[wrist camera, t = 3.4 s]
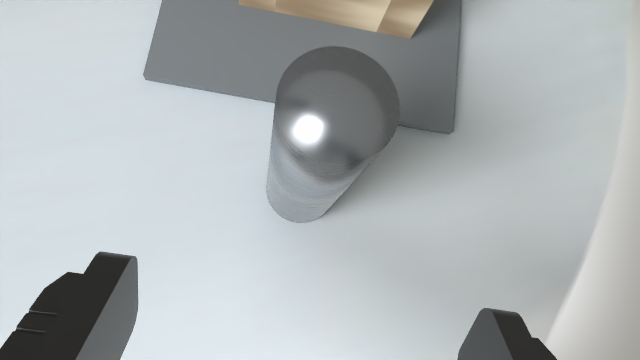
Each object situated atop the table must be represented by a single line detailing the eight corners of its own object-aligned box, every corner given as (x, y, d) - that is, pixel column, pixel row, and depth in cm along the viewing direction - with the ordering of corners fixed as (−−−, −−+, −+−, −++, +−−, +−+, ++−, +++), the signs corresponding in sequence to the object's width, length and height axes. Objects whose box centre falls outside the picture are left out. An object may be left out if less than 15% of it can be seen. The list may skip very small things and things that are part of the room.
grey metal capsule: (261, 216, 20) (266, 152, 11) (272, 150, 21) (286, 35, 12) (330, 227, 21) (394, 173, 11) (338, 161, 22) (405, 58, 12)
